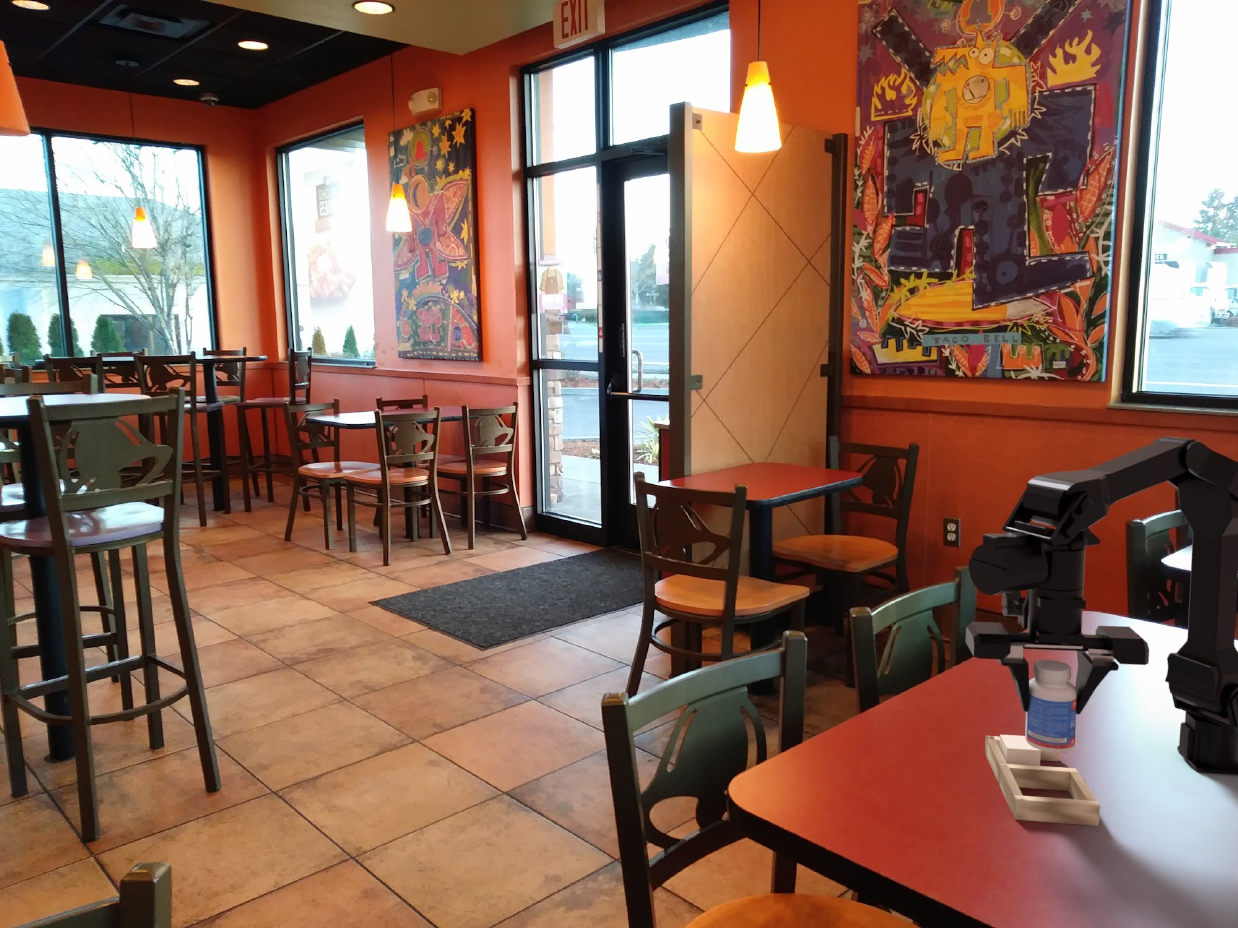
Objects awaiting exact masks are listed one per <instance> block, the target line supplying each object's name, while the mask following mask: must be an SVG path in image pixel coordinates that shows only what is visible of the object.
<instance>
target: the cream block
mask: <svg viewBox="0 0 1238 928" xmlns="http://www.w3.org/2000/svg"><path fill="white" fill-rule="evenodd" d="M999 737H1000V748H999V749H1000V751H1001V753H1002V755H1003V757H1004V759H1005V761H1006V763H1007V764H1015V765H1031V766H1041V760H1040V756H1041V750H1039V749H1037V748H1034V747H1032V746H1031V745H1029V744H1028V743H1027V741H1026V739H1025V735H1014V734H1012V735H1011V734H999Z"/></svg>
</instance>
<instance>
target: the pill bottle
mask: <svg viewBox="0 0 1238 928" xmlns="http://www.w3.org/2000/svg"><path fill="white" fill-rule="evenodd" d="M1032 669H1033V671H1032V674H1033V676H1034V678H1030V679H1029V708H1028V712H1025V724H1024V725H1025V726H1024V727H1025V729H1024V731H1025V732H1024V734H1025V735H1024V736H1025V739H1026V741H1027V743H1028V744H1029V745H1031V746H1032V747H1034V748H1037V749H1039V750H1043V751H1047V752H1054V753H1059V754H1060V753H1061V754H1062V753H1067V752H1070V751H1072V750H1073V749H1074V748H1075V745H1076V725H1077V724H1076V723H1077V714H1076V702H1077V691H1076V688H1075V685H1074V684H1072V683H1071V682H1070V680H1071V678H1072V668H1071V665H1070V664H1068V663H1066V662H1063V661H1059V660H1053V659H1040V660H1036V661H1034V662H1033V668H1032Z"/></svg>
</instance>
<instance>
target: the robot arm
mask: <svg viewBox="0 0 1238 928" xmlns="http://www.w3.org/2000/svg"><path fill="white" fill-rule="evenodd" d="M1164 482H1167V483H1169V484H1170V485H1171V486H1173V487H1174V488H1175V489H1176V490H1177V491H1178V502H1179V503H1178V504H1179V510H1180V512H1181V513H1182V515H1183V516H1184V519H1185V520H1186V522H1187V524H1188V525H1189V528H1190V529H1191V531H1192V542H1191V543H1192V544H1191V546H1192V547H1191V563H1190V564H1191V566H1190V580H1189V582H1190V584H1189V600H1188V601H1189V605H1188V620H1187V622H1188V625H1187V638H1186V641H1185V642H1184V644H1183V645H1182V646H1181V647H1180V648H1179V649H1178V651H1177V652H1170V653H1169V654H1168V656H1167V658H1166V661H1167V673H1166V677H1165V680H1164V681H1165V682H1166V683H1168V691H1169V693H1170V694H1171V696H1172V697H1171V698H1172V701H1173V706H1174V708H1175V709H1177V710H1182V711H1184V712H1185V714H1184V715H1185V716H1184V717H1185V718H1184V722H1181V723H1180V727H1179V728H1180V729H1179V743H1178V746H1176V747H1177V748H1176V749H1177V751H1178V752H1179V754H1181V756H1182V757H1183V758H1184V759H1185V760H1186V761H1187V762H1188V763H1189V764H1190V766H1191V767H1192V768H1193V769H1194V770H1196V771H1198V772H1204V773H1205V772H1206V773H1219V774H1235V775H1238V650H1237V648H1236V646H1235V639H1236V638H1235V634H1236V621H1237V620H1236V618H1237V605H1238V603H1237V599H1238V461H1237V460H1234V459H1232V458H1230V457H1228V456H1225V455H1224V454H1221V453H1219V452H1216V451H1215V450H1212V449H1211V448H1210V447H1208V446H1207V445H1206V444H1205V443H1203V442H1201V441H1199V439H1195V438H1187V437H1177V436H1168V435H1167V436H1162V437H1159V438H1157V439H1155V440H1154V441H1153V442H1152V443H1150V444H1146V445H1145V446H1143V447H1139V448H1137V449H1135V450H1132V451H1129V452H1127V453H1124V454H1122V455H1120V456H1118V457H1115V458H1112V459H1109V460H1107V461H1105V462H1102V463H1100V464H1097V465H1095V466H1093V467H1090V468H1087V469H1080V470H1065V471H1064V470H1063V471H1055V472H1050V473H1045V474H1038V475H1036V476H1034V477H1032V478H1031V479H1030V480H1029V481H1028V482H1027V483H1026V488H1025V490H1024V492H1023V493H1022V495H1021V496H1020V498H1019V500H1018V501H1017V502H1016V505H1015V506H1014V508H1013V510H1012V511H1011V513H1010V514H1009V516H1008V518H1007V519H1006V521H1005V523H1004V524H1003V526H1002V527H1001V531H1002V532H1003V533H993V532H991V533H984V534H983V535H982V544H980V545H977V546H976V548H974V550H973V551H972V553H971V556H970V558H969V559H968V571H969V576H970V578H971V581H972V583H973V585H974V587H975V588H976V589H977V590H978V591H979V592H981V593H982V594H983V595H986V596H995V595H1002V596H1001V611H1002V612H1001V613H1002V615H1003V616H1004V617H1017V624H1018V625H1021V627H1022V629H1027V632H1019V631H1018V632H1017V631H1008V630H1007V629H1006V628H1005V626H1004V624H1003V623H1002V622H992V621H991V622H989V621H971V622H970V623H969V624H968V625H967V626H966V629H965V644H966V645H967V647H968V649H969V651H970V653H971V654H972V656H973V657H974V658H977V659H979V660H980V659H983V660H997V661H998V663H999V664H1000V665H1001V666H1003V667H1008V669H1009V671H1010V674H1011V677H1012V680H1013V684H1014V685H1015V689H1016V693H1017V696H1018V699H1019V702H1020V706H1021V707H1022V710H1023V712H1024V713H1026V712H1028V708H1029V681H1030V670H1029V669H1030V667H1029V662H1028V661H1027V659H1026V658H1025V656H1024V650H1041V651H1042V650H1043V651H1044V650H1046V651H1068V652H1069V651H1072V652H1073V651H1074V652H1075V651H1076V657H1077V671H1076V679H1075V685H1074V687H1075V688H1076V691H1077V702H1076V715H1081V714H1082V712H1083V710H1084V709H1085V707H1086V706H1087V704H1088V702H1089V700H1090V698H1091V697H1092V695H1093V694H1094V692H1095V690H1096V689H1097V688H1098V686H1099V685H1100V684H1101V683H1102V682H1103V680H1104V679H1105V677H1107V676H1108V674H1109V673H1110V672H1111V671H1113V672H1114V671H1119V668H1120V666H1119V664H1120V665H1133V666H1135V665H1136V666H1146V665H1149V660H1150V647H1149V644H1148V642H1147V641H1146V640H1145V639H1143V637H1142V636H1140V634H1138V632H1136V631H1135V630H1134V629H1133V628H1131V627H1130V626H1123V625H1122V626H1118V625H1117V626H1116V625H1112V626H1111V625H1098V626H1097V627H1096V629H1095V634H1085V633H1082V631H1083V614H1084V613H1083V612H1084V610H1086V606H1087V605H1086V604H1087V600H1086V599H1085V598H1084V594H1085V593H1084V592H1085V591H1084V589H1085V588H1084V587H1085V570H1086V569H1085V568H1086V567H1085V566H1086V547H1090V546H1099V545H1100V544H1101V538H1099V537H1098V536H1097V535H1096V534H1095V533H1093V532H1092V531H1091V529H1090V527H1091V526H1093V525H1094V524H1096V523H1098V522H1099V521H1101V520H1103V519H1104V518H1105V517H1106V516H1107V515H1108V512H1109V510H1110V508H1111V506H1112V505H1114V504H1116V503H1117V502H1119V501H1122V500H1124V499H1126V498H1129V497H1131V496H1134V495H1136V494H1138V493H1142V492H1143V491H1146V490H1148V489H1150V488H1152V487H1155V486H1157V485H1160V484H1162V483H1164ZM1031 522H1033V523H1031ZM1034 523H1035V524H1034ZM1040 524H1041V525H1040ZM1044 525H1045V526H1044ZM1047 526H1049V527H1047ZM1051 527H1052V528H1051ZM1053 527H1054V528H1053ZM1022 591H1024V592H1025V591H1026V596H1022ZM1117 662H1118V663H1117Z"/></svg>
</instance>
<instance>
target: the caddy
mask: <svg viewBox="0 0 1238 928" xmlns="http://www.w3.org/2000/svg"><path fill="white" fill-rule="evenodd" d="M984 739H985V740H984V741H985V744H984V755H985V756H986V759H987V762H988V763H989V766H990V767H991V770H992V772H993V773H994V777H995V779H996V781H997V783H998V785H999V787H1000V789H1001V792H1002V794H1003V796H1004V798H1005V800H1006V803H1007V805H1008V807H1009V809H1010V811H1011V814H1012V815H1013V818H1014V820H1017V821H1028V822H1029V821H1030V822H1041V823H1054V824H1068V825H1069V824H1070V825H1082V826H1094V827H1095V826H1096V827H1100V811H1101V810H1100V809H1101V805H1100V804H1099V802H1098V800H1097V799H1096V797H1095V796H1094V794H1093V793H1092V791H1091V790H1090V788H1089V787H1088V785H1087V783H1086V782H1085V780H1084V779H1083V777H1082V776H1081V775H1080V772H1079V771H1078V770H1077V768H1074V767H1061V766H1060V767H1058V766H1044V765H1040V766H1031V765H1015V764H1007V763H1006V761H1005V759H1004V757H1003V755H1002V753H1001V751H1000V749H999V748H1000V736H996V735H995V736H993V735H985V738H984ZM1059 759H1060V753H1054V752H1047V751H1043V750H1041V756H1040V761H1048V762H1059V761H1060V760H1059ZM1020 788H1022V789H1023V788H1024V789H1025V788H1026V789H1035V790H1036V789H1037V790H1038V789H1039V790H1053V791H1067V792H1069V794H1070V795H1071V797H1072V798H1057V797H1046V796H1045V797H1044V796H1029V795H1023V793H1022V791H1021V789H1020Z"/></svg>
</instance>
